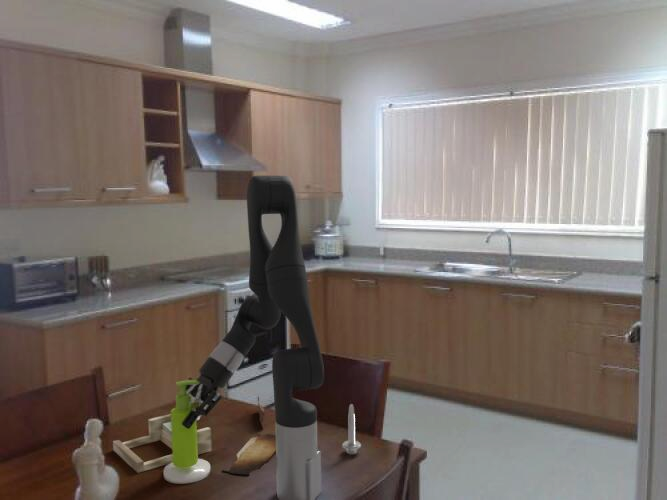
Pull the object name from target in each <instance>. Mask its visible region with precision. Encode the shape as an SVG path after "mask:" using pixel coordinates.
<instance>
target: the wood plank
mask: <svg viewBox="0 0 667 500" xmlns="http://www.w3.org/2000/svg"><path fill="white" fill-rule="evenodd" d="M257 408H258V414H259V422H260V425H261V427H262V429H264V415H265V409H264V407H262V406H261V404H260V397H259V396H257Z"/></svg>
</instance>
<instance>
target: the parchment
mask: <svg viewBox="0 0 667 500" xmlns="http://www.w3.org/2000/svg"><path fill="white" fill-rule="evenodd" d="M274 454H276V434H272V433H271V434H270V433H266V434H264V435H261V434H258V433H256V434H255V437H254V436H253V437H251V438H250V439H249V440H248V441H247V442H246V443H245V444H244V446H243V447H242V448H241V449H240V450H239V451H238V452H237V453H236V458H237V459H236V461H234V463H233V465H231V467H230V469H229V470H223V469H222V472H224V473H225V472H226V473H229V474H233V475H241V476H247V477H249V476H250V473H253V471H254V472H255V471H258V470H260V469H261V467H262V466H264V465H265V464H268V463H269V461H270V459H271V458H272V457H273V455H274Z"/></svg>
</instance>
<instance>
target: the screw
mask: <svg viewBox="0 0 667 500" xmlns="http://www.w3.org/2000/svg"><path fill="white" fill-rule="evenodd" d="M355 415H356V414H355V407H354V404H352V403H350V404H349V406H348V415H347V416H348V417H347V418H348V419H347V423H348V424H347V425H348V426H347V430H348V432H347V434H348V435H347V436H348V437H347V438H348V439H347V440H345V441H344V442H343V443H342V445H341V446H342V448H343V449H345V450H346V451H345V453H347V454H348V455H355V454H357V453H358V449H360V448H361V447H362V444H361V443H360V442H359V441H358V440H356V423H355V422H356V418H355V417H356V416H355Z"/></svg>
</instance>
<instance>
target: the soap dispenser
mask: <svg viewBox="0 0 667 500" xmlns="http://www.w3.org/2000/svg"><path fill="white" fill-rule="evenodd" d="M199 383H200V382H199V381H198V380H196V379H194V380H188V379H185V380H180V381H176V382H175V385H176V387H178V393H177V394H176V395H175V407H173V408H172V409H171V410H170V414H171V429H172V449H171V451H172V453H171V454H173V465H174V466H176V467H180V468H185V467H190V466H193V465H195V464H196V463H197V462H198V459H199V455H198V449H197V430H198V429H197V427H198V426H197V420H196V421H195V422H194V423H193V425H192V426H191V427H190V428H189V429H187V428H186V427H185V426H183V425H182V422H183V421H184V419H185V418H186V417H187V415H188V414H189V413H190V411H192V409H193V407H194V405H192V403H191V404H190V394H188V393H186V385H191V384H197V385H198V384H199Z"/></svg>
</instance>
